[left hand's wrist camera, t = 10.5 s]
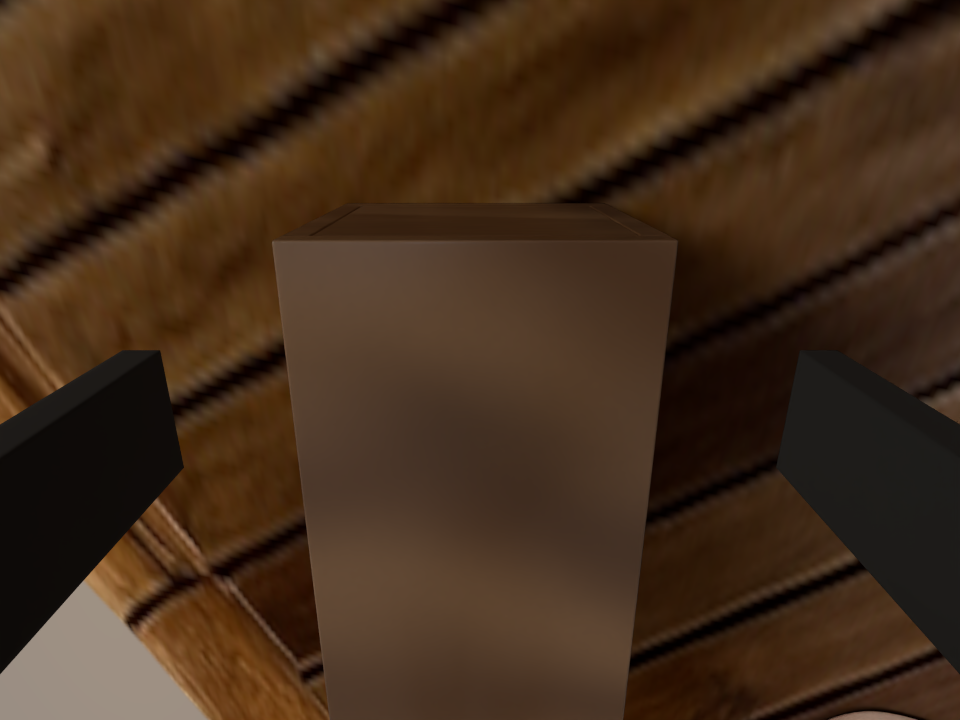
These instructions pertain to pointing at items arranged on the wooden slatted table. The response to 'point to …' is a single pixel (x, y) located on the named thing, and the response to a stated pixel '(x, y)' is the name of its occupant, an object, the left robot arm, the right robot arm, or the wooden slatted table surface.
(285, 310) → the tall brown box
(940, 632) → the left robot arm
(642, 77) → the wooden slatted table surface
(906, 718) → the anatomical model
